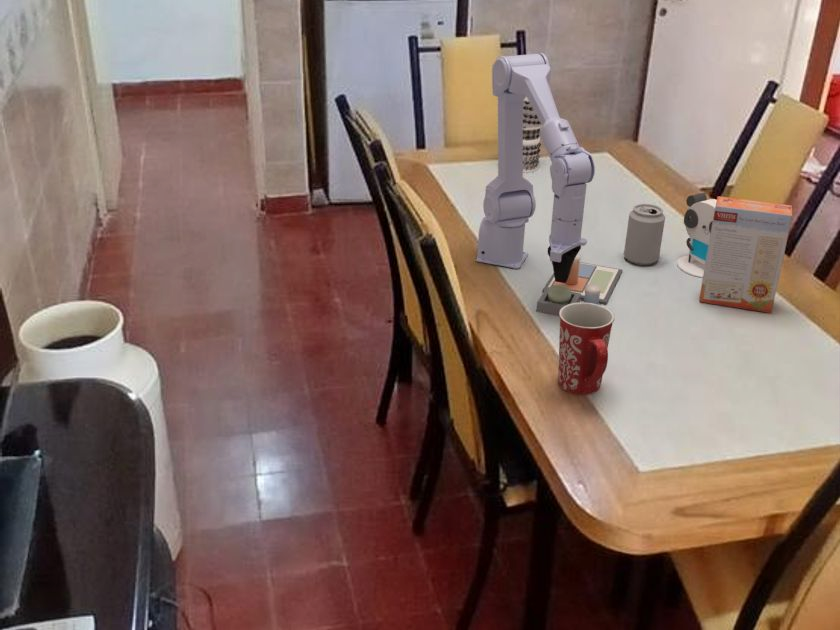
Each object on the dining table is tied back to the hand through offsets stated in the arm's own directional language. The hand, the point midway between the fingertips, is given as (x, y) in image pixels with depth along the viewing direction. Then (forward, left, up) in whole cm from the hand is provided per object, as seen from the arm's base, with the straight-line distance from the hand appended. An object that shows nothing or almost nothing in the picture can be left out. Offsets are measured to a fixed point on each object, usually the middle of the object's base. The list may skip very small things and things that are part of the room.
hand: (561, 280), depth 184 cm
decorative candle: (-29, +74, -6) cm, 79 cm away
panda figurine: (+24, +31, -6) cm, 39 cm away
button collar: (0, 0, -6) cm, 6 cm away
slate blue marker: (+6, -1, -6) cm, 9 cm away
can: (+11, +29, -6) cm, 31 cm away
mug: (+11, -27, -6) cm, 30 cm away
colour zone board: (+2, +13, -6) cm, 14 cm away
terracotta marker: (0, +10, -5) cm, 11 cm away
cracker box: (+32, +17, -6) cm, 36 cm away
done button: (0, 0, -4) cm, 4 cm away
